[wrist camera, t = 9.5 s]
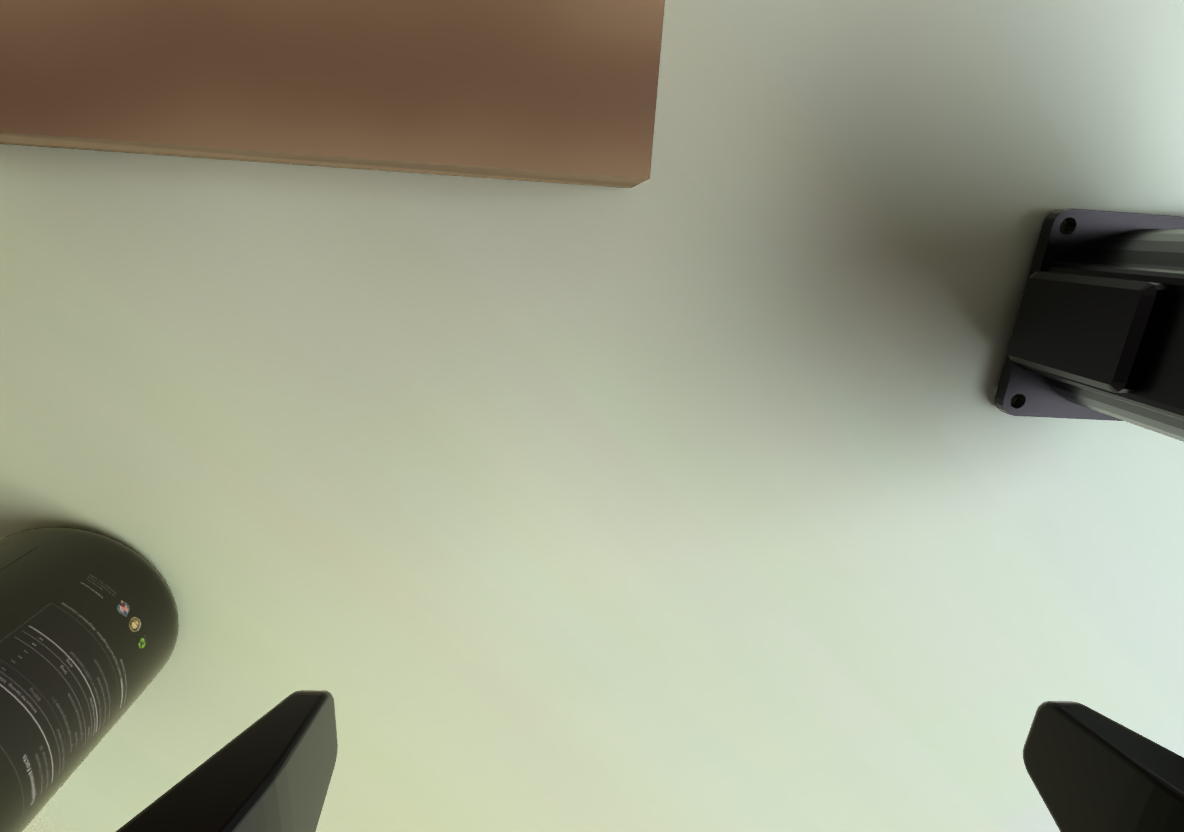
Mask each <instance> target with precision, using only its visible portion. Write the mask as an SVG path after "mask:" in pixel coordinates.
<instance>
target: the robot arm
mask: <svg viewBox="0 0 1184 832" xmlns="http://www.w3.org/2000/svg"><path fill="white" fill-rule="evenodd" d="M1063 220H1065V221H1066V227H1065V229H1064V231H1063V232H1062V233H1061V231H1060V225H1061V223H1062V221H1063ZM1016 394H1017V399H1016V401H1015V402H1014V403H1013V404H1011V399H1012V397H1013V396H1015V395H1016ZM995 404H996V407H997V408H998V409H999V410H1000V411H1002V412H1005V413H1007V414H1010V415H1014V416H1033V417H1054V418H1075V419H1096V420H1117V421H1127V422H1129V423H1132V424H1135V425H1138V426H1141V427H1144V428H1146V429H1149V430H1152V431H1155V432H1158V433H1161V434H1164V435H1166V436H1169V437H1172V438H1175V439H1178V440H1181V441H1184V217H1180V216H1166V215H1152V214H1138V213H1124V212H1110V211H1096V210H1082V209H1060V210H1055V211H1054V212H1052V213H1050V214H1049V215H1048V216H1047V218H1046V219H1045V221H1044V223H1043V225H1042V229H1041V232H1040V236H1039V239H1038V243H1037V247H1036V250H1035V254H1034V258H1033V261H1032V265H1031V269H1030V272H1029V276H1028V280H1027V283H1026V287H1025V290H1024V294H1023V298H1022V301H1021V305H1020V309H1019V312H1018V316H1017V320H1016V323H1015V327H1014V331H1013V334H1012V338H1011V342H1010V345H1009V349H1008V353H1007V356H1006V360H1005V364H1004V367H1003V371H1002V375H1001V378H1000V382H999V385H998V389H997V393H996V396H995ZM336 756H337V732H336V720H335V708H334V699H333V697H332V694H331V693H330V692H328V691H304V690H301V691H296V692H294V693H292V694H291V695H289V696H288V697H287V698H285V699H284V700H283V701H282V702H280V703H279V704H278V705H277V706H275V707H274V708H273V709H271V710H270V711H269V712H268V713H266V714H265V715H264V716H263V717H261V718H260V719H259V720H257V721H256V722H255V723H254V724H252V725H251V726H250V727H249V728H247V729H246V730H245V731H243V732H242V733H241V734H240V735H238V736H237V737H236V738H235V739H233V740H232V741H231V742H229V743H228V744H227V745H226V746H224V747H223V748H222V749H221V750H219V751H218V752H217V753H215V754H214V755H213V756H212V757H210V758H209V759H208V760H207V761H205V762H204V763H203V764H201V765H200V766H199V767H198V768H196V769H195V770H194V771H193V772H191V773H190V774H189V775H187V776H186V777H185V778H184V779H182V780H181V781H180V782H179V783H177V784H176V785H175V786H173V787H172V788H171V789H170V790H168V791H167V792H166V793H165V794H163V795H162V796H161V797H159V798H158V799H157V800H156V801H154V802H153V803H152V804H151V805H149V806H148V807H147V808H145V809H144V810H143V811H142V812H140V813H139V814H138V815H137V816H135V817H134V818H133V819H131V820H130V821H129V822H128V823H126V824H125V825H124V826H123V827H121V828H120V829H119V830H117V831H116V832H315V831H316V828H317V824H318V821H319V817H320V814H321V811H322V807H323V804H324V800H325V797H326V794H327V790H328V787H329V783H330V780H331V777H332V773H333V770H334V766H335V762H336ZM1023 759H1024V764H1025V767H1026V769H1027V772H1028V774H1029V775H1030V777H1031V779H1032V781H1033V783H1034V784H1035V786H1036V788H1037V790H1038V792H1039V794H1040V795H1041V797H1042V799H1043V801H1044V803H1045V804H1046V806H1047V808H1048V810H1049V812H1050V813H1051V815H1052V817H1053V819H1054V821H1055V822H1056V824H1057V826H1058V828H1059V830H1060V831H1061V832H1184V758H1183V757H1181V756H1179V755H1177V754H1176V753H1174V752H1172V751H1170V750H1168V749H1166V748H1164V747H1162V746H1160V745H1159V744H1157V743H1155V742H1153V741H1151V740H1149V739H1147V738H1145V737H1143V736H1142V735H1140V734H1138V733H1136V732H1134V731H1132V730H1130V729H1128V728H1126V727H1124V726H1123V725H1121V724H1119V723H1117V722H1115V721H1113V720H1111V719H1109V718H1107V717H1106V716H1104V715H1102V714H1100V713H1098V712H1096V711H1094V710H1092V709H1090V708H1089V707H1087V706H1085V705H1083V704H1080V703H1077V702H1071V701H1047V702H1043V703H1042V704H1041V705H1040V706H1039V707H1038V709H1037V711H1036V714H1035V717H1034V720H1033V722H1032V725H1031V728H1030V731H1029V734H1028V737H1027V739H1026V742H1025V745H1024V749H1023Z"/></svg>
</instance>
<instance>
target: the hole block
mask: <svg viewBox="0 0 1184 832" xmlns="http://www.w3.org/2000/svg"><path fill="white" fill-rule="evenodd" d="M664 4H665V0H0V144H13V145H27V146H41V147H55V148H70V149H84V150H98V151H112V152H126V153H141V154H155V155H169V156H183V157H198V158H212V159H226V160H240V161H255V162H269V163H283V164H297V165H311V166H326V167H340V168H354V169H368V170H383V171H397V172H411V173H425V174H439V175H454V176H468V177H482V178H496V179H511V180H525V181H539V182H553V183H567V184H582V185H596V186H610V187H624V188H632V187H634V186H636V185H638V184H640V183H642V182H644V181H646V180H647V179H649V178H650V168H651V156H652V144H653V133H654V121H655V109H656V97H657V86H658V74H659V62H660V51H661V39H662V27H663V16H664Z"/></svg>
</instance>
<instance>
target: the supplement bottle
mask: <svg viewBox="0 0 1184 832" xmlns="http://www.w3.org/2000/svg"><path fill="white" fill-rule="evenodd" d="M177 635H178V613H177V607H176V604H175V601H174V598H173V595H172V593H171V591H170V589H169V587H168V585H167V584H166V582H165V581H164V579H163V578H162V576H161V575H160V574H159V573H158V571H157V570H156V569H155V568H154V567H153V566H152V565H151V564H150V563H149V562H148V561H147V560H146V559H144V558H143V557H142V556H141V555H139V554H138V553H137V552H135V551H134V550H132V549H131V548H129V547H127V546H126V545H124V544H122V543H120V542H118V541H116V540H114V539H111V538H109V537H107V536H104V535H101V534H98V533H94V532H90V531H86V530H80V529H75V528H64V527H48V528H37V529H31V530H26V531H22V532H19V533H15V534H12V535H10V536H7V537H5V538H3V539H1V540H0V832H22V831H23V830H24V829H25V828H26V827H27V825H28V824H29V823H30V822H31V821H32V820H33V818H34V817H35V816H36V815H37V814H38V813H39V811H40V810H41V809H42V808H43V807H44V806H45V805H46V803H47V802H48V801H49V800H50V799H51V798H52V796H53V795H54V794H55V793H56V792H57V791H58V789H59V788H60V787H61V786H62V785H63V784H64V783H65V781H66V780H67V779H68V778H69V777H70V776H71V774H72V773H73V772H74V771H75V770H76V769H77V767H78V766H79V765H80V764H81V763H82V762H83V761H84V759H85V758H86V757H87V756H88V755H89V754H90V752H91V751H92V750H93V749H94V748H95V747H96V746H97V744H98V743H99V742H100V741H101V740H102V739H103V737H104V736H105V735H106V734H107V733H108V732H109V730H110V729H111V728H112V727H113V726H114V725H115V724H116V722H117V721H118V720H119V719H120V718H121V717H122V715H123V714H124V713H125V712H126V711H127V710H128V708H129V707H130V706H131V705H132V704H133V703H134V702H135V700H136V699H137V698H138V697H139V696H140V695H141V693H142V692H143V691H144V690H145V689H146V687H147V686H148V685H149V684H150V683H151V681H152V680H153V679H154V678H155V677H156V675H157V674H158V673H159V672H160V670H161V669H162V668H163V667H164V665H165V664H166V662H167V661H168V659H169V658H170V656H171V654H172V652H173V649H174V647H175V643H176V640H177Z"/></svg>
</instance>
